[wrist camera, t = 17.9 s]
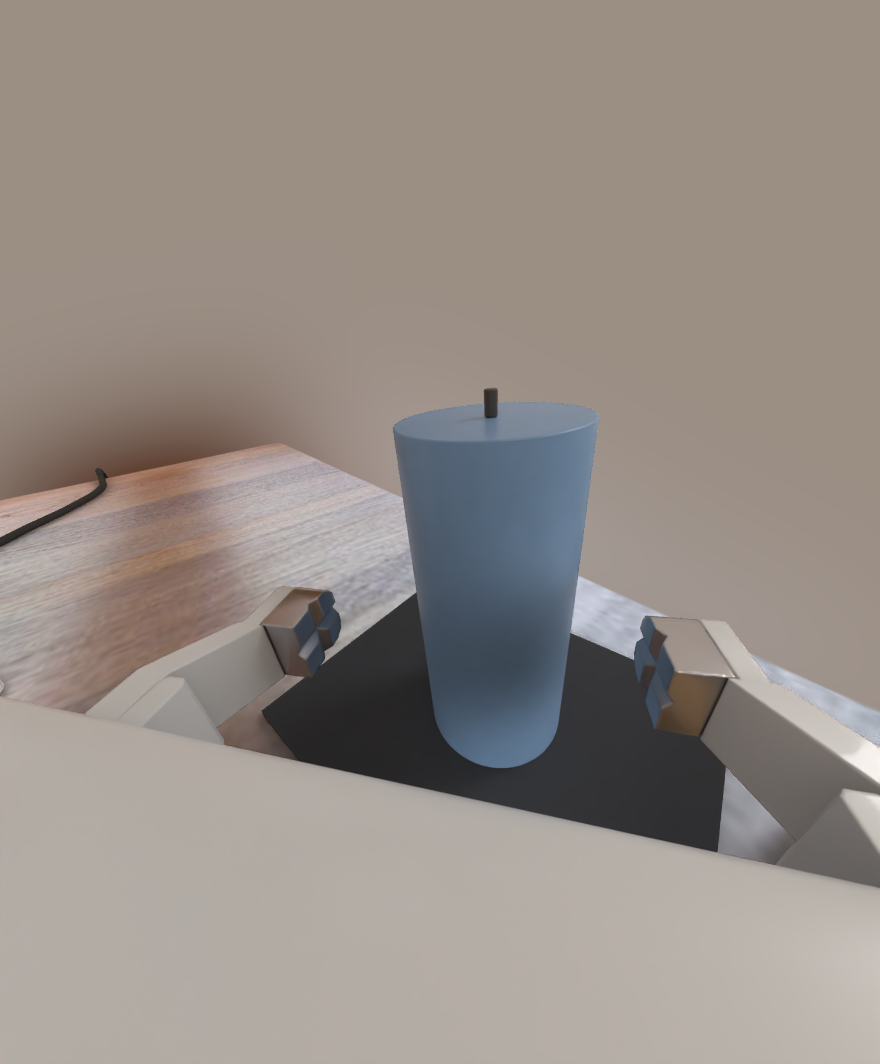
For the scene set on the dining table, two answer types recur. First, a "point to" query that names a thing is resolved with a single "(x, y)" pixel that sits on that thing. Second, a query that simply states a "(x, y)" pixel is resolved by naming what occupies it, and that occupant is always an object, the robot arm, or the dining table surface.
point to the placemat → (537, 786)
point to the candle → (496, 564)
